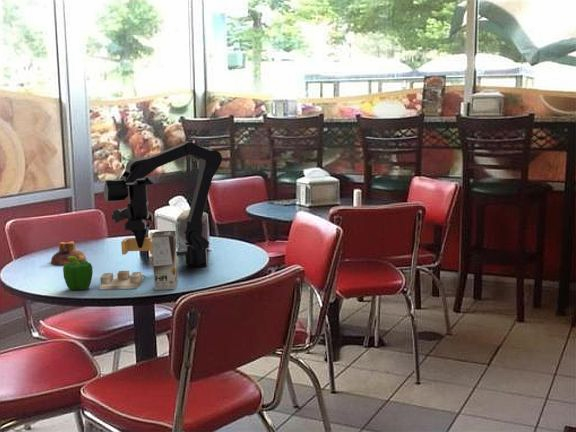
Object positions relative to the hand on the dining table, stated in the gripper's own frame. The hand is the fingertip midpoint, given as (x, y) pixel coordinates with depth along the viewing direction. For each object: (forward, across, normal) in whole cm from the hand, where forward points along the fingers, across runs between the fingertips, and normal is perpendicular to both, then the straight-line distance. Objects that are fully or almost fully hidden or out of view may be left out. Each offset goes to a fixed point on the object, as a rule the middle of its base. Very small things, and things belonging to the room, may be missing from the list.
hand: (140, 247), depth 229 cm
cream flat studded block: (+8, +14, -4) cm, 17 cm away
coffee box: (+9, +18, +10) cm, 22 cm away
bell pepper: (+9, +18, -16) cm, 25 cm away
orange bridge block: (+1, +2, 0) cm, 3 cm away
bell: (+9, -19, -29) cm, 35 cm away
